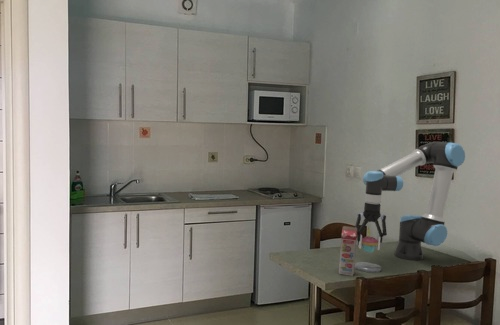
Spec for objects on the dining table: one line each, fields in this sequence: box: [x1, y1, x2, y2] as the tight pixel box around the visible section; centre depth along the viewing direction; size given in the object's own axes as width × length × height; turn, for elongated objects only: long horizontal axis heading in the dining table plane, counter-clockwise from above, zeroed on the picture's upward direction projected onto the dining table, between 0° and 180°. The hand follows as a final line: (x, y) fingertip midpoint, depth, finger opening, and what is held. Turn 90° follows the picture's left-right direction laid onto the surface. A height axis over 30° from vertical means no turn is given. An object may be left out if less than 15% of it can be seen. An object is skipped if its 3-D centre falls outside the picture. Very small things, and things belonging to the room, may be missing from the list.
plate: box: [354, 261, 382, 273], centre depth 227 cm, size 13×13×1 cm
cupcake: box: [361, 226, 379, 253], centre depth 226 cm, size 9×8×12 cm
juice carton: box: [338, 225, 358, 277], centre depth 217 cm, size 7×7×22 cm
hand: (368, 248), depth 226 cm, fingers closed on cupcake, 8 cm apart
